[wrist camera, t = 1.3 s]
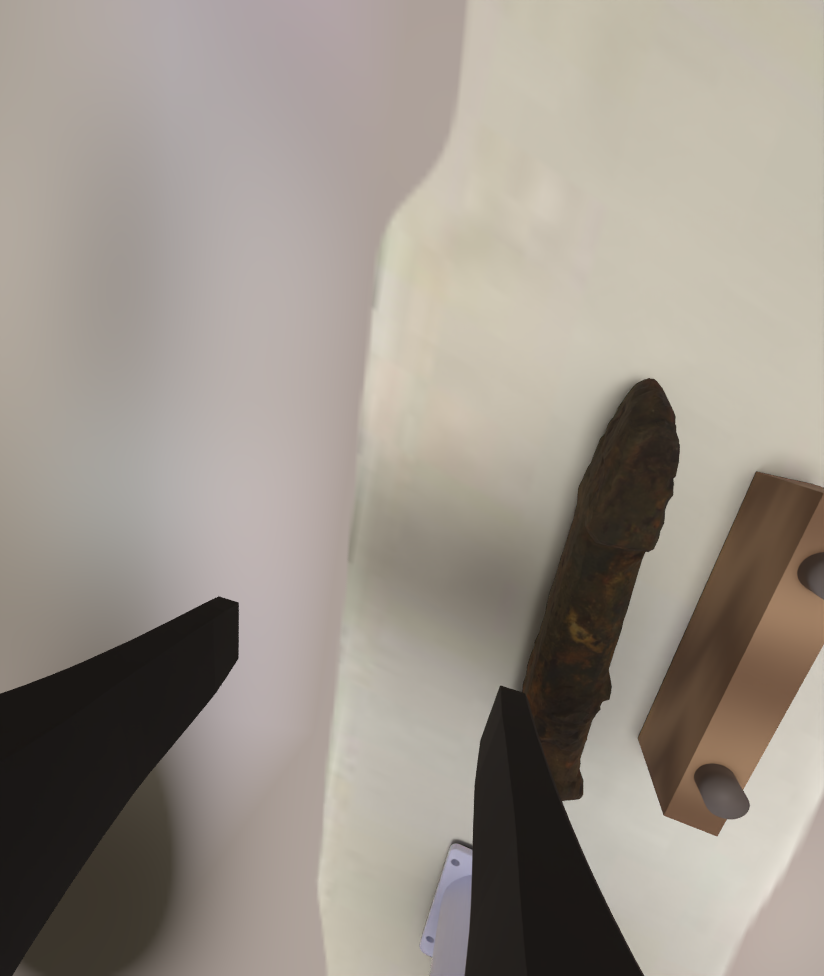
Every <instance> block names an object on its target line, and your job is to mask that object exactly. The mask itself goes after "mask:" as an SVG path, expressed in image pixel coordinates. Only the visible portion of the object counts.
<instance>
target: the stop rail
mask: <svg viewBox="0 0 824 976" xmlns="http://www.w3.org/2000/svg"><path fill="white" fill-rule="evenodd" d="M823 645H824V488H823V487H820V486H817V485H813V484H809V483H805V482H801V481H796V480H792V479H787V478H783V477H778V476H774V475H769V474H765V473H761V472H756V474H755V476H754V478H753V481H752V483H751V485H750V487H749V490H748V492H747V494H746V496H745V499H744V501H743V503H742V505H741V508H740V510H739V512H738V514H737V517H736V519H735V521H734V523H733V526H732V528H731V530H730V532H729V535H728V537H727V539H726V541H725V544H724V546H723V548H722V550H721V553H720V555H719V557H718V559H717V562H716V564H715V566H714V568H713V571H712V573H711V575H710V577H709V580H708V582H707V584H706V586H705V589H704V591H703V593H702V595H701V598H700V600H699V602H698V604H697V607H696V609H695V611H694V613H693V616H692V618H691V620H690V622H689V625H688V627H687V629H686V631H685V634H684V636H683V638H682V640H681V643H680V645H679V647H678V649H677V652H676V654H675V656H674V658H673V661H672V663H671V665H670V667H669V670H668V672H667V674H666V676H665V679H664V681H663V683H662V685H661V688H660V690H659V692H658V694H657V697H656V699H655V701H654V703H653V706H652V708H651V710H650V712H649V715H648V717H647V719H646V721H645V724H644V726H643V728H642V730H641V733H640V735H639V737H638V740H639V743H640V746H641V749H642V752H643V755H644V758H645V761H646V764H647V767H648V770H649V773H650V776H651V779H652V782H653V785H654V788H655V791H656V794H657V797H658V800H659V803H660V806H661V809H662V812H663V815H664V816H666V817H669V818H671V819H674V820H677V821H679V822H682V823H684V824H687V825H689V826H692V827H694V828H697V829H700V830H702V831H705V832H707V833H710V834H712V835H715V836H718V834H719V832H720V831H721V829H722V827H723V825H724V823H725V822H726V820H727V819H737V818H740V817H742V816H744V815H745V814H746V813H747V812H748V810H749V807H750V804H749V800H748V798H747V797H746V795H745V793H744V791H743V789H744V787H745V785H746V784H747V782H748V780H749V778H750V776H751V775H752V773H753V771H754V769H755V767H756V766H757V764H758V762H759V760H760V758H761V757H762V755H763V753H764V751H765V749H766V748H767V746H768V744H769V742H770V740H771V739H772V737H773V735H774V733H775V731H776V729H777V728H778V726H779V724H780V722H781V720H782V719H783V717H784V715H785V713H786V711H787V710H788V708H789V706H790V704H791V702H792V701H793V699H794V697H795V695H796V693H797V692H798V690H799V688H800V686H801V684H802V683H803V681H804V679H805V677H806V675H807V674H808V672H809V670H810V668H811V666H812V665H813V663H814V661H815V659H816V657H817V655H818V654H819V652H820V650H821V648H822V646H823Z"/></svg>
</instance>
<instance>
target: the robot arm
mask: <svg viewBox="0 0 824 976" xmlns="http://www.w3.org/2000/svg"><path fill="white" fill-rule="evenodd" d="M238 625H239V603H238V602H235V601H231V600H229V599H225V598H222V597H217V598H215V599H212V600H210V601H208V602H206V603H204V604H202V605H201V606H198V607H196V608H194V609H192V610H190V611H189V612H186V613H185V614H183V615H181V616H179V617H177V618H175V619H173V620H171V621H169V622H167V623H165V624H163V625H161V626H159V627H157V628H155V629H153V630H151V631H149V632H147V633H145V634H143V635H141V636H139V637H137V638H135V639H133V640H131V641H128V642H126V643H124V644H122V645H120V646H117V647H115V648H113V649H110V650H108V651H106V652H104V653H102V654H100V655H97V656H95V657H93V658H91V659H88V660H86V661H84V662H82V663H79V664H77V665H75V666H72V667H70V668H68V669H65V670H63V671H60V672H58V673H55V674H53V675H50V676H47V677H45V678H42V679H39V680H37V681H34V682H32V683H29V684H27V685H24V686H21V687H18V688H15V689H13V690H10V691H7V692H4V693H1V694H0V976H12V975H13V973H14V972H15V970H16V968H17V967H18V965H19V964H20V962H21V960H22V959H23V957H24V955H25V954H26V952H27V951H28V949H29V947H30V946H31V945H32V943H33V941H34V940H35V938H36V937H37V935H38V934H39V932H40V931H41V929H42V928H43V926H44V924H45V923H46V921H47V920H48V918H49V916H50V915H51V914H52V912H53V911H54V909H55V907H56V906H57V904H58V903H59V901H60V900H61V898H62V897H63V895H64V894H65V892H66V890H67V889H68V887H69V886H70V884H71V883H72V882H73V880H74V879H75V877H76V876H77V874H78V873H79V871H80V870H81V868H82V867H83V865H84V864H85V862H86V861H87V859H88V858H89V857H90V855H91V854H92V852H93V851H94V849H95V848H96V846H97V845H98V843H99V842H100V840H101V839H102V837H103V836H104V835H105V833H106V832H107V830H108V829H109V827H110V826H111V825H112V823H113V822H114V820H115V819H116V818H117V816H118V815H119V813H120V812H121V811H122V809H123V808H124V806H125V805H126V803H127V802H128V801H129V799H130V798H131V796H132V795H133V794H134V792H135V791H136V790H137V788H138V787H139V786H140V785H141V783H142V782H143V781H144V779H145V778H146V777H147V776H148V774H149V773H150V772H151V771H152V769H153V768H154V767H155V766H156V765H157V763H158V762H159V761H160V760H161V759H162V758H163V756H164V755H165V754H166V753H167V752H168V750H169V749H170V748H171V747H172V746H173V744H174V743H175V742H176V741H177V740H178V738H179V737H180V736H181V735H182V733H183V732H184V731H185V730H186V729H187V728H188V726H189V725H190V724H191V723H192V722H193V720H194V719H195V718H196V717H197V716H198V714H199V713H200V712H201V711H202V709H203V708H204V707H205V706H206V705H207V703H208V702H209V701H210V700H211V698H212V697H213V695H214V694H215V693H216V692H217V690H218V689H219V687H220V686H221V685H222V683H223V681H224V680H225V679H226V677H227V676H228V674H229V672H230V671H231V669H232V667H233V666H234V665H235V663H236V661H237V660H238V647H239V644H238V643H239V637H238V636H239V635H238V634H239V632H238V631H239V626H238ZM420 949H421V951H422V952H423V953H425V954H426V955H428V956H430V957H432V962H431V969H430V975H429V976H644V974H643V973H642V971H641V969H640V967H639V965H638V964H637V962H636V960H635V958H634V956H633V954H632V952H631V951H630V949H629V947H628V945H627V943H626V941H625V939H624V937H623V935H622V933H621V931H620V929H619V927H618V925H617V923H616V921H615V919H614V917H613V915H612V913H611V911H610V909H609V907H608V905H607V903H606V901H605V899H604V897H603V895H602V892H601V890H600V888H599V886H598V884H597V882H596V880H595V878H594V876H593V873H592V871H591V869H590V867H589V865H588V862H587V860H586V858H585V856H584V853H583V851H582V849H581V847H580V844H579V842H578V840H577V837H576V835H575V832H574V830H573V828H572V825H571V823H570V821H569V818H568V816H567V813H566V811H565V808H564V806H563V803H562V801H561V798H560V795H559V792H558V790H557V787H556V784H555V782H554V779H553V776H552V774H551V771H550V768H549V765H548V763H547V760H546V757H545V754H544V751H543V748H542V745H541V742H540V739H539V736H538V732H537V729H536V726H535V722H534V719H533V715H532V712H531V708H530V705H529V701H528V698H527V696H526V694H525V693H522V692H519V691H516V690H513V689H509V688H506V687H503V686H500V688H499V690H498V693H497V696H496V699H495V701H494V704H493V707H492V710H491V713H490V715H489V718H488V721H487V724H486V726H485V729H484V732H483V735H482V737H481V740H480V748H479V755H478V763H477V771H476V779H475V790H474V819H473V850H472V849H469V848H467V847H465V846H463V845H460V844H452V845H451V846H450V849H449V852H448V855H447V858H446V861H445V864H444V868H443V871H442V874H441V877H440V880H439V883H438V887H437V890H436V893H435V896H434V899H433V902H432V905H431V909H430V912H429V915H428V918H427V921H426V924H425V927H424V931H423V934H422V937H421V941H420Z"/></svg>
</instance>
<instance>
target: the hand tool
mask: <svg viewBox="0 0 824 976" xmlns="http://www.w3.org/2000/svg"><path fill="white" fill-rule="evenodd" d="M679 454H680V444H679V439H678V436H677V433H676V425H675V414H674V411H673V409H672V407H671V405H670V403H669V401H668V399H667V397H666V394H665V392H664V390H663V389H662V387H661V386H660V385H659V383H658V382H657V381H656V380H655V379H650V378H648V379H645V380H643V381H641V382H639V383H637V384H636V385H635V386H634V387H633V388H632V389H631V391H630V392H629V393H628V395H627V396H626V398H625V399H624V400H623V402H622V403H621V404H620V406H619V408H618V410H617V412H616V414H615V416H614V418H613V419H612V420H611V421H610V423H609V424H608V427H607V430H606V433H605V434H604V435H603V437H602V438H601V439H600V441H599V444H598V446H597V449H596V452H595V454H594V457H593V459H592V462H591V464H590V466H588V469H587V471H586V473H585V475H584V478H583V480H582V482H581V484H580V486H579V489H578V502H577V506H576V510H575V515H574V519H573V523H572V526H571V529H570V532H569V535H568V538H567V541H566V545H565V548H564V551H563V554H562V556H561V559H560V563H559V566H558V570H557V573H556V576H555V580H554V583H553V585H552V588H551V591H550V594H549V598H548V602H547V606H546V613H545V616H544V619H543V622H542V625H541V629H540V632H539V634H538V637H537V639H536V641H535V646H534V648H533V651H532V653H531V655H530V659H529V662H528V665H527V673H526V677H525V680H524V683H523V692H522V693H525V694H526V696H527V698H528V701H529V705H530V708H531V712H532V715H533V719H534V722H535V726H536V729H537V732H538V736H539V739H540V742H541V745H542V748H543V751H544V754H545V757H546V760H547V763H548V765H549V768H550V771H551V774H552V776H553V779H554V782H555V784H556V787H557V790H558V792H559V795H560V798H561V801H565V800H576V799H580V798H581V797H582V795H583V778H582V775H581V772H580V764H581V763H580V758H581V754H582V752H583V749H584V745H585V742H586V740H587V735H588V732H589V729H590V726H591V722H592V720H593V719H594V717H595V715H596V714H597V713H598V711H599V710H600V705H601V703H602V702H603V701H606V700H609V699H610V694H611V688H612V686H611V680H610V675H609V667H610V663H611V660H612V657H613V653H614V650H615V647H616V645H617V642H618V639H619V636H620V633H621V629H622V625H623V621H624V618H625V615H626V612H627V609H628V606H629V602H630V599H631V595H632V591H633V588H634V585H635V581H636V578H637V575H638V571H639V568H640V565H641V561H642V559H643V556H644V554H645V552H649V551H651V550H653V549H654V547H655V545H656V543H657V541H658V539H659V535H660V530H661V528H662V526H663V524H664V519H665V508H666V506H667V504H668V501H669V500H670V499H671V497H672V496H673V486H674V482H673V478H674V477H675V476H676V473H677V468H678V463H679Z"/></svg>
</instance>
